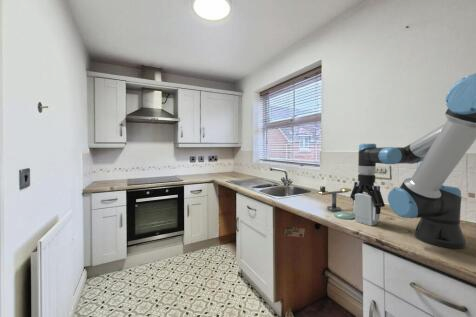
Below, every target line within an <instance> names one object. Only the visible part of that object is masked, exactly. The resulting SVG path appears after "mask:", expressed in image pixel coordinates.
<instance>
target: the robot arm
mask: <svg viewBox="0 0 476 317" xmlns="http://www.w3.org/2000/svg"><path fill="white" fill-rule="evenodd" d="M445 102H446V104H445V105H446V108H447V109H446V111H445V113H444V115H445V117H446V120H447V121H446V122H445V123H444V124H442V125H441V126H439V127H437V128H435V129H434V130H432V131H430V132H428V133H426V134H425V135H423V136H422V137H419V138H418V139H416V140H415V141H413V142H412V143H409V144H408V145H406V146H404V147H399V146H397V147H395V146H394V147H393V146H386V147H385V146H384V147H383V146H382V147H378V146H377V144H376V143H360V144H359V145H358V165H357V166H358V167H357V173H358V174H357V181H355V182H353V183H354V186H353V188H352V189H351V193H350V198H349V199H352V206H353V210H352V211H353V212H354V213H355V194H357V193H366V194H369V195H370V196H371V199H372V201H373V203H374V205H375V206H374V207H373V220H374V221H376V220H377V221H380V214H381V210H382V207H385V206H386V205H385V201H384V199H383V195H382V193H381V186H380V185H375V182H376V175H375V174H376V170H377V169H376V165H377V164H382V165H397V164H399V165H400V164H410V165H413V164H418V163H420V164H419V165H418V166H417V169H416V170H415V172H414V173H413V175H412V176H411V177H408V178H405V179H404V180H403V182H402V184H400V187H395V188H392V189H390V190H389V192H388V194H387V202H388V204H389V208H390V209H391V211H392V212H393V213H394V214H395V215H396V216H398V217H400V218H403V219H416V218H417V219H419V218H420V219H419V221H418V223H417V225H416V227H415V230H414V238H416V239H418V240H419V241H421V242H424V243H427V244H430V245H433V246H437V247H442V248H448V249H455V250H456V249H465V248H466V238H465V235H464V233H463V230H462V227H461V210H462V209H461V207H462V206H461V205H462V204H461V203H462V198H463V197H462V191H461V189H460V188H459V187H456V186H450V185H443V184H444V183H446V181H447V179H448V178H449V177H450V175H451V174H452V172H453V171H454V170H455V168H456V167H457V165H458V164H459V162H461V160H462V159H463V158H464V156H465V155H466V153H467V152H468V151H469V149H470V148H471V147H472V145H473V144H474V143H475V141H476V73H472V74H469V75H466V76H465V77H462V78H461V79H459V80H458V81H456V82H455V83H453V85H451V87H450V88H449V89H448V92H447V93H446V96H445Z"/></svg>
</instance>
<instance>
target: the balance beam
mask: <svg viewBox="0 0 476 317" xmlns="http://www.w3.org/2000/svg"><path fill="white" fill-rule="evenodd" d="M348 192H352V188H347V187H346V188H345V187H342V188H339V190H333V191H328V190H326V186H319V190H317V192H316V193H317V194H319V195H321V196H325V195H326V196H327V195H332V194H336V195H337V194H343V193H348Z"/></svg>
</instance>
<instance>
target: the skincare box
mask: <svg viewBox="0 0 476 317" xmlns="http://www.w3.org/2000/svg"><path fill="white" fill-rule="evenodd" d="M374 206H375V205H374V203H373V201H372V199H371V196H370V195H369V194H368V193H365V192H363V193H357V194H355V216H354V219H355V222H356V223H360V224H364V225H367V226H370V227H372V226H375V225H377V224H378V220H376V221H374V220H373V207H374Z"/></svg>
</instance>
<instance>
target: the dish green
mask: <svg viewBox="0 0 476 317" xmlns="http://www.w3.org/2000/svg"><path fill="white" fill-rule="evenodd" d="M333 217H335V218H337V219H341V220H347V221H348V220H354V219H355V216H354V215H353V214H352V213H350V212H346V211H334V213H333Z"/></svg>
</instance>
